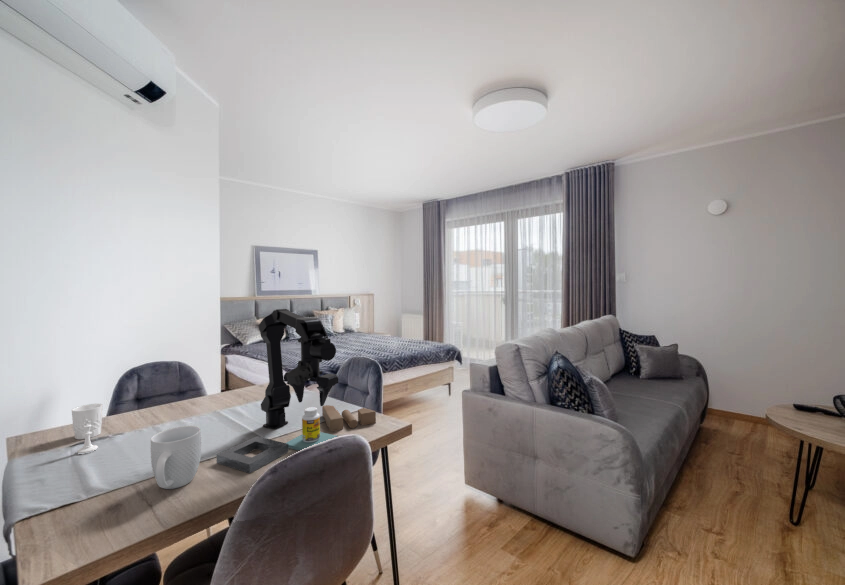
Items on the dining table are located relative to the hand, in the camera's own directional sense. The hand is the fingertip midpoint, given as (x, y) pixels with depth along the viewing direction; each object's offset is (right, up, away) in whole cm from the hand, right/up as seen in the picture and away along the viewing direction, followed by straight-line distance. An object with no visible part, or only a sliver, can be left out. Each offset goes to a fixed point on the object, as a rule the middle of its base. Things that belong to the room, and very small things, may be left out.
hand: (311, 404), depth 117 cm
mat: (0, -13, 0) cm, 13 cm away
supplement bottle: (0, -12, 0) cm, 12 cm away
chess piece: (-70, -14, -4) cm, 71 cm away
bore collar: (-14, -13, -9) cm, 22 cm away
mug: (-28, -14, -24) cm, 39 cm away
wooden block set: (+8, -13, +20) cm, 25 cm away
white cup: (-81, -14, +8) cm, 82 cm away
